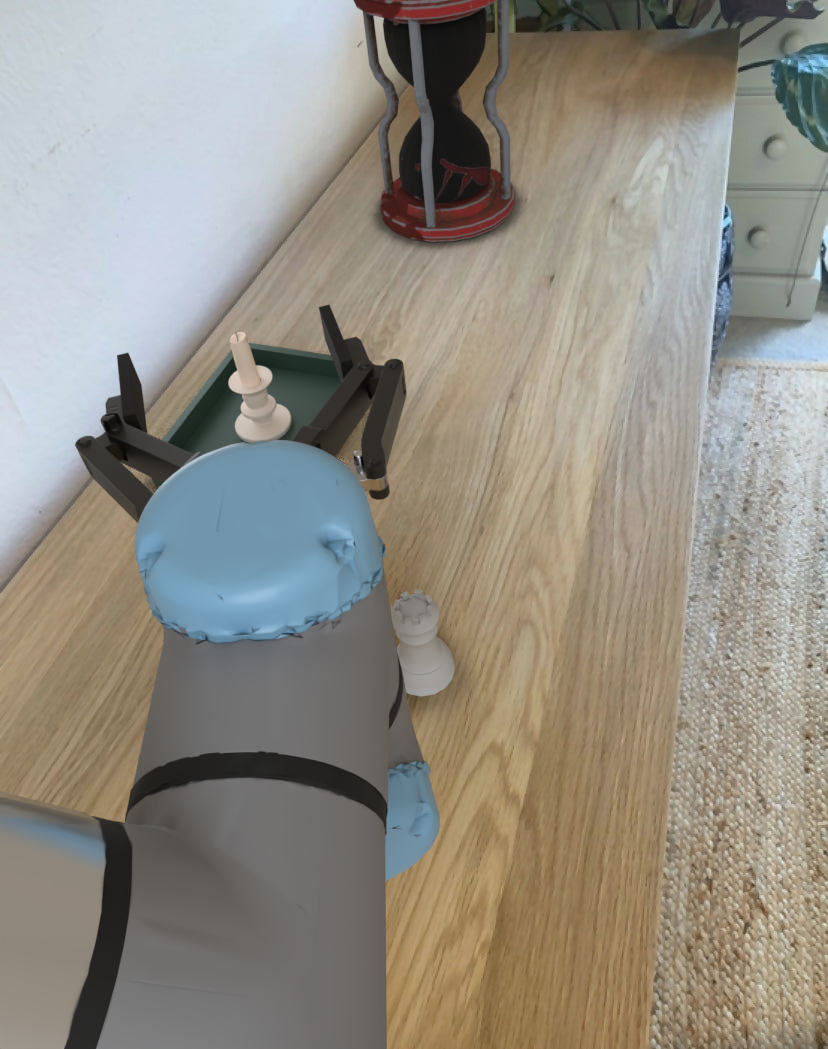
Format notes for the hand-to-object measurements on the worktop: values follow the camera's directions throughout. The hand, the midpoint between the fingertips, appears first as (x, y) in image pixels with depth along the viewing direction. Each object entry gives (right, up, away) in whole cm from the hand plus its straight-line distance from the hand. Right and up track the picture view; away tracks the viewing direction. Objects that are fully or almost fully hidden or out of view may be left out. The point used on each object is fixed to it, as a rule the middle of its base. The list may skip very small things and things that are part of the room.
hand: (229, 345), depth 58 cm
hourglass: (+17, +26, +46) cm, 55 cm away
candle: (-1, -3, +21) cm, 21 cm away
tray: (-1, -4, +21) cm, 22 cm away
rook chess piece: (+13, -23, +3) cm, 26 cm away
